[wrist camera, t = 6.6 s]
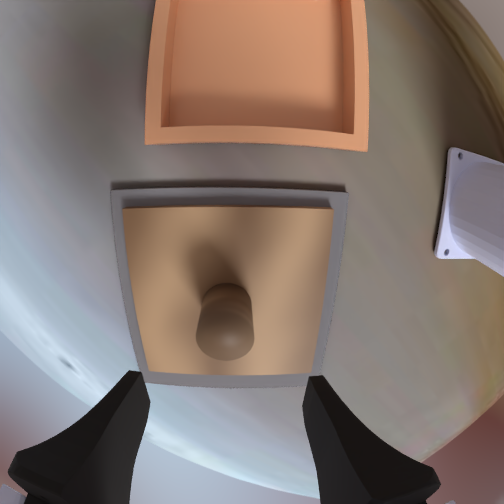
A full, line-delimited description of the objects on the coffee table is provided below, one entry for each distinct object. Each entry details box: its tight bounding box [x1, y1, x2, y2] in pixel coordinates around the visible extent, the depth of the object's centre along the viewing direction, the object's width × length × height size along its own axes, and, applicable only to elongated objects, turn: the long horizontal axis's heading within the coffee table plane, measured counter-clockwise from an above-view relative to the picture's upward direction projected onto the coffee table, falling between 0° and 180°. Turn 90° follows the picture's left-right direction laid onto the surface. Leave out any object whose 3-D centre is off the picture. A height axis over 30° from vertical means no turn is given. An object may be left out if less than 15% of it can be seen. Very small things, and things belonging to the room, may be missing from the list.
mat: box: [111, 187, 349, 388], centre depth 19 cm, size 14×15×1 cm
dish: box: [145, 0, 369, 152], centre depth 12 cm, size 11×11×3 cm
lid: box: [122, 205, 334, 375], centre depth 16 cm, size 12×12×4 cm
